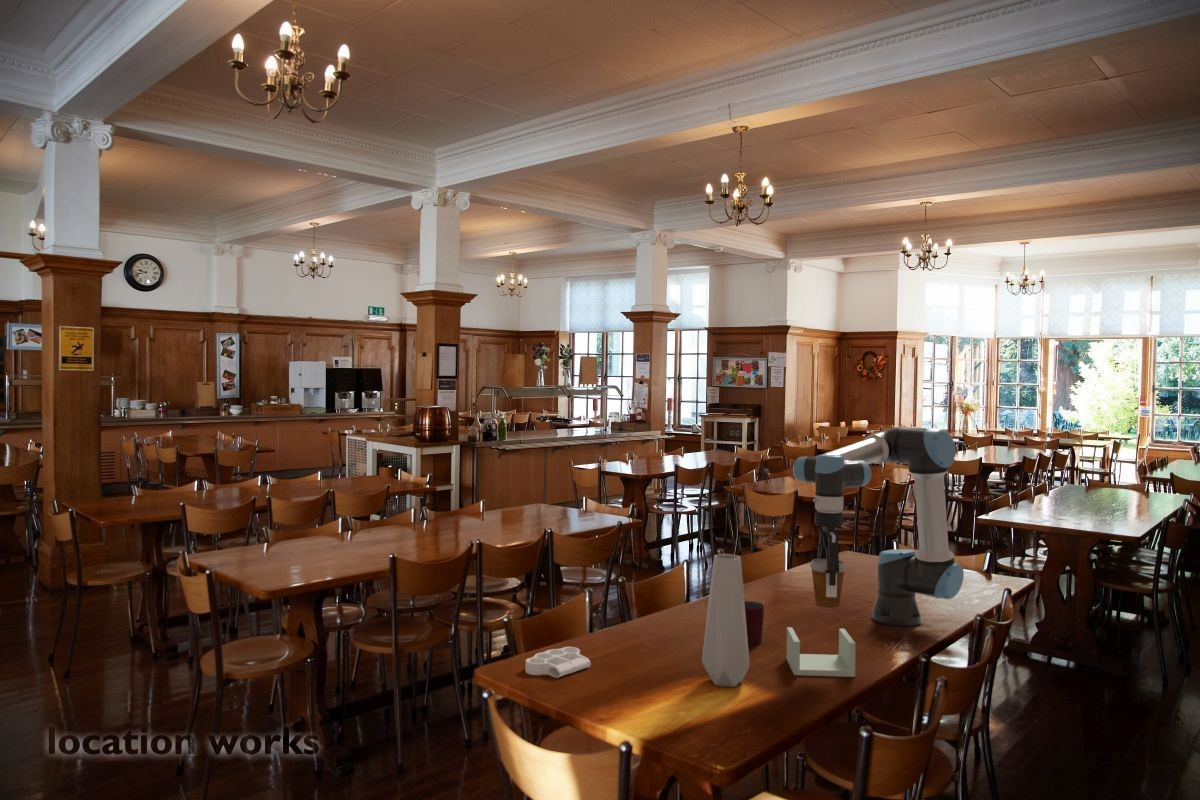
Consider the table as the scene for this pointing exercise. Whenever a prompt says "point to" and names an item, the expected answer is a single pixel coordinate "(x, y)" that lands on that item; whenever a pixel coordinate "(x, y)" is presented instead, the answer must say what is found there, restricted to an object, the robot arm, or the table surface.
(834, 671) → the holder
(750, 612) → the mug
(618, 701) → the table surface
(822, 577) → the disposable coffee cup
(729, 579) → the vase
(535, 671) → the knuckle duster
